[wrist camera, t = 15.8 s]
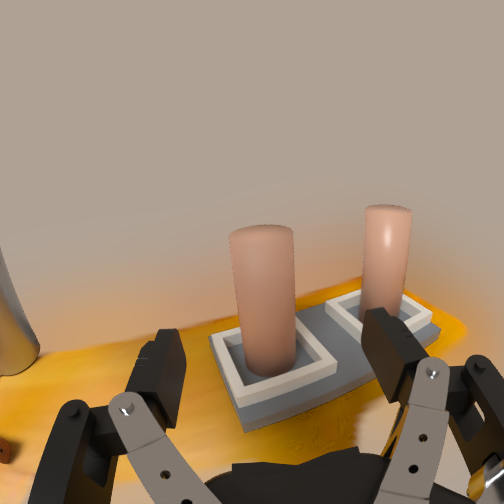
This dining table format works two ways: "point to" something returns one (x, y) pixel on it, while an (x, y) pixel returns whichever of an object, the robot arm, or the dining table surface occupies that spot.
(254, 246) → the post
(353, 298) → the grey peg holder
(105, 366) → the dining table surface
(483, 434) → the robot arm
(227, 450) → the dining table surface
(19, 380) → the dining table surface
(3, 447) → the kendama
